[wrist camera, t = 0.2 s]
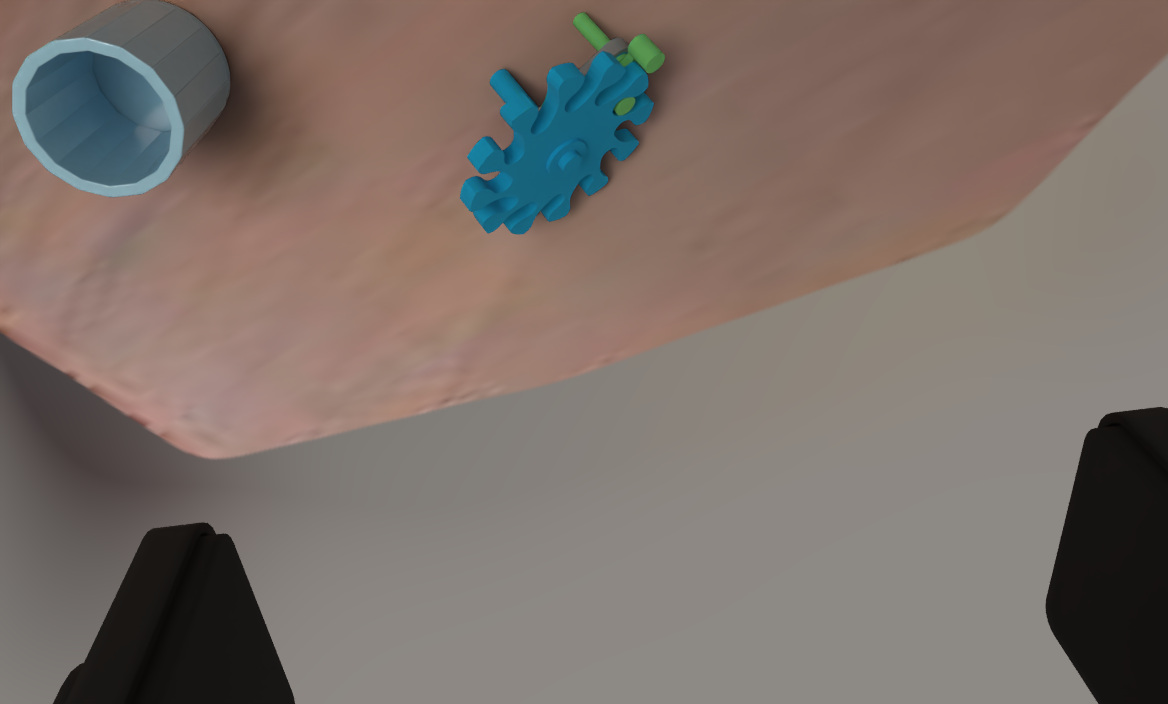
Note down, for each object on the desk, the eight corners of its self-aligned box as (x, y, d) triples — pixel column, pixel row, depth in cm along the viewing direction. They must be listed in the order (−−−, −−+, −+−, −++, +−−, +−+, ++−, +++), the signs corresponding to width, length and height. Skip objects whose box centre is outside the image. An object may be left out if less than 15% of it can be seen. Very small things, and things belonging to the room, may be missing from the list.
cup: (65, 5, 41) (-17, 48, 34) (207, -9, 41) (153, 30, 34) (114, 143, 44) (49, 204, 37) (246, 129, 44) (203, 188, 38)
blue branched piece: (533, 264, 47) (438, 210, 37) (469, 183, 49) (363, 112, 39) (701, 112, 45) (644, 15, 36) (627, 33, 47) (555, -79, 37)
